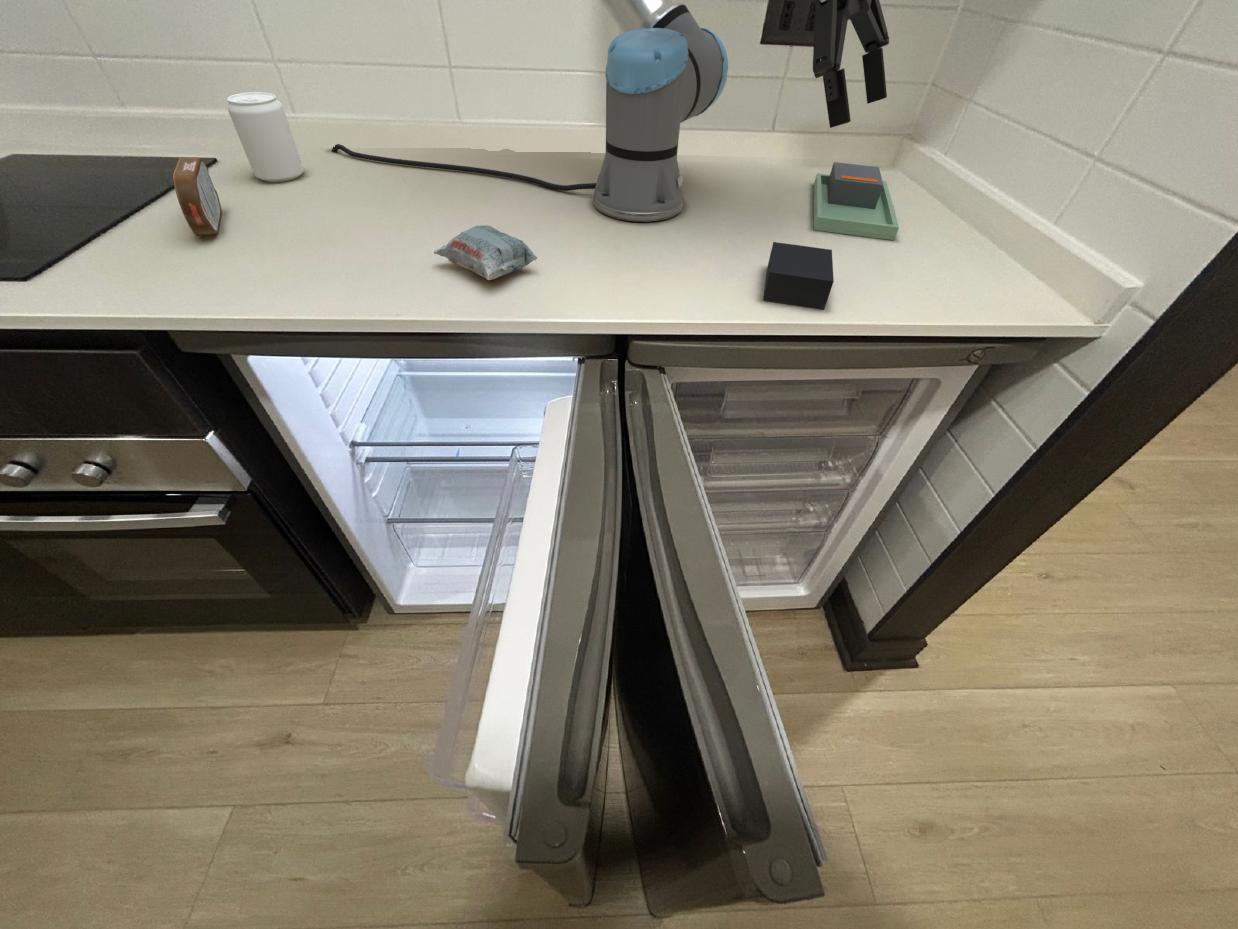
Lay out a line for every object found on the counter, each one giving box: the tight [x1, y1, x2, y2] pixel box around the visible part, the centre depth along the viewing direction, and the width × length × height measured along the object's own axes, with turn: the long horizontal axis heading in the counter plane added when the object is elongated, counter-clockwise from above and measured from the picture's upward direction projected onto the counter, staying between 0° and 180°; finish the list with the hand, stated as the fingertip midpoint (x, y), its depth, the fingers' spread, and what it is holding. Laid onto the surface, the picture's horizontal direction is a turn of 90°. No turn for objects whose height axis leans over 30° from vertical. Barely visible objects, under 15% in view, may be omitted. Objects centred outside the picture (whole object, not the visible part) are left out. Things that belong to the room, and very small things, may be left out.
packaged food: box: [433, 224, 538, 281], centre depth 75 cm, size 9×12×5 cm
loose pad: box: [762, 241, 835, 310], centre depth 75 cm, size 8×10×4 cm
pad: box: [827, 161, 884, 209], centre depth 98 cm, size 8×10×4 cm
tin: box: [172, 156, 222, 237], centre depth 81 cm, size 15×3×8 cm, turn 23°
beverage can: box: [226, 91, 305, 183], centre depth 94 cm, size 8×8×12 cm
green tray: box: [813, 172, 900, 241], centre depth 96 cm, size 22×13×2 cm, turn 166°
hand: (859, 112), depth 82 cm, fingers open, 13 cm apart
